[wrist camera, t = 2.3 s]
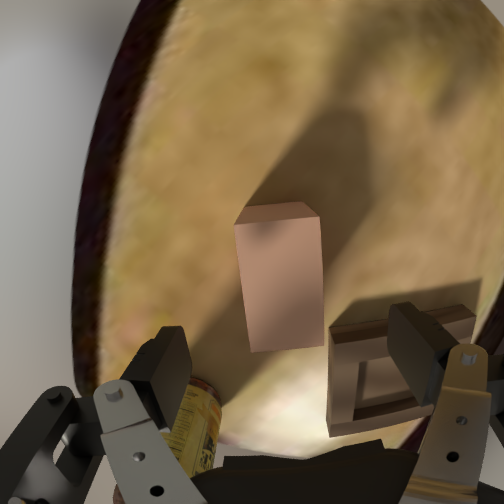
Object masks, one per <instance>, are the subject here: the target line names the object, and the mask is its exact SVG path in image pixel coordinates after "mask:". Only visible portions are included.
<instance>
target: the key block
mask: <svg viewBox="0 0 504 504" xmlns="http://www.w3.org/2000/svg"><path fill="white" fill-rule="evenodd" d="M234 231H235V239H236V247H237V255H238V262H239V270H240V277H241V285H242V292H243V299H244V307H245V314H246V321H247V328H248V335H249V342H250V349H251V353H252V352H266V351H278V350H289V349H299V348H308V347H317V346H324V295H323V267H322V247H321V230H320V217H319V216H318V215H317V214H316V213H315V212H314V211H313V210H312V209H310V208H309V207H308V206H307V205H306V204H305V203H304V202H303V201H298V202H287V203H276V204H266V205H257V206H247V207H244V208H243V210H242V212H241V213H240V215H239V217H238V218H237V220H236V222H235V224H234Z"/></svg>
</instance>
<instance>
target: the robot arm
mask: <svg viewBox="0 0 504 504" xmlns="http://www.w3.org/2000/svg"><path fill="white" fill-rule="evenodd" d="M387 349H388V352H389V355H390V356H391V358H392V360H393V361H394V363H395V365H396V366H397V368H398V369H399V371H400V373H401V374H402V376H403V378H404V379H405V381H406V383H407V385H408V386H409V388H410V390H411V391H412V393H413V395H414V397H415V398H416V400H417V402H418V404H419V405H420V407H424V406H428V405H431V404H433V406H434V409H433V412H432V415H431V418H430V421H429V424H428V427H427V430H426V433H425V436H424V438H423V441H422V444H421V446H420V449H419V451H418V453H415V452H411V451H407V450H401V449H389V448H388V449H385V448H384V446H383V443H382V440H381V439H377V440H373V441H368V442H364V443H359V444H354V445H348V446H344V447H341V448H338V449H336V450H333V451H330V452H327V453H325V454H322V455H319V456H316V457H313V458H310V459H306V460H298V459H289V458H280V457H272V456H264V455H260V456H224V462H223V467H219V468H214V469H210V470H207V471H204V472H202V473H199V474H197V475H195V476H193V477H191V478H189V477H188V475H187V474H186V473H185V471H184V470H183V468H182V467H181V465H180V464H179V462H178V461H177V459H176V458H175V456H174V454H173V453H172V451H171V450H170V448H169V447H168V445H167V443H166V442H165V440H164V438H163V437H162V435H161V433H160V432H165V433H171V431H172V428H173V425H174V422H175V419H176V416H177V414H178V411H179V408H180V405H181V402H182V399H183V396H184V393H185V391H186V388H187V385H188V382H189V379H190V376H191V373H192V362H191V357H190V353H189V349H188V345H187V341H186V337H185V333H184V330H183V328H182V326H163V327H162V328H161V329H160V331H159V332H158V334H157V335H156V337H155V339H150V340H149V341H147V342H146V343H145V344H143V345H142V346H141V347H140V349H139V350H138V352H137V355H135V356H134V358H133V359H132V361H131V362H130V364H129V365H128V367H127V368H126V370H125V371H124V373H123V374H122V376H121V377H120V379H119V380H112V381H109V382H106V383H104V384H102V385H101V386H99V387H98V388H97V389H96V391H95V392H94V396H92V397H82V398H75V396H74V394H73V392H72V390H71V389H70V388H69V387H66V386H56V387H52V388H50V389H48V390H46V391H45V392H44V393H42V395H41V396H40V397H39V398H38V399H37V401H36V402H35V403H34V405H33V406H32V407H31V409H30V410H29V411H28V412H27V414H26V415H25V416H24V418H23V419H22V420H21V422H20V423H19V424H18V426H17V427H16V428H15V430H14V431H13V433H12V434H11V435H10V437H9V438H8V440H7V441H6V442H5V444H4V445H3V446H2V448H1V449H0V504H84V501H85V499H86V496H87V494H88V491H89V489H90V487H91V484H92V481H93V479H94V477H95V474H96V472H97V470H98V467H99V465H100V463H101V460H102V458H103V456H104V455H107V458H108V461H109V464H110V467H111V469H112V472H113V475H114V477H115V480H116V482H117V485H118V487H119V490H120V492H121V494H122V497H123V499H124V501H125V504H504V491H503V490H500V489H498V488H495V487H493V486H490V485H487V484H485V483H482V482H480V481H479V477H480V473H481V468H482V463H483V458H484V453H485V447H486V441H487V435H488V427H489V424H490V426H491V427H492V429H493V431H494V432H495V434H496V435H497V437H498V439H499V441H500V442H501V444H502V446H503V447H504V354H502V355H491V356H488V355H487V353H486V351H485V350H484V349H483V348H481V347H479V346H477V345H474V344H468V343H465V344H460V343H459V342H458V341H457V340H456V339H455V338H454V337H453V336H452V335H451V334H450V333H449V332H448V331H447V330H446V329H444V327H443V326H442V325H441V324H439V322H438V321H437V320H436V319H435V318H434V317H433V316H431V315H429V314H427V313H425V312H423V311H421V312H420V311H419V310H418V309H417V308H416V307H415V306H414V305H413V304H412V303H411V302H403V303H398V304H392V305H391V306H390V310H389V321H388V333H387ZM60 439H61V440H62V442H63V443H64V445H65V448H64V449H63V451H62V453H61V455H60V457H59V458H58V460H57V462H56V464H54V462H53V452H54V450H55V448H56V446H57V444H58V443H59V441H60Z"/></svg>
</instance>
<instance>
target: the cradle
mask: <svg viewBox="0 0 504 504" xmlns="http://www.w3.org/2000/svg"><path fill="white" fill-rule="evenodd" d="M425 313H427V314H429V315H431V316H433V317H434V318H435V319H436V320H437V321H438V322H439V324H441V325H442V326H443V327H444V329H446V330H447V331H448V332H449V333H450V334H451V335H452V336H453V337H454V338H455V339H456V340H457V341H458V342H459V343H460V344H465V343H468V344H470V342H471V338H472V334H473V330H474V326H475V321H476V315H475V314H474V313H472V312H471V311H470V310H469V309H467V308H466V307H465V306H464V305H463V304H461V305H457V306H452V307H448V308H443V309H438V310H433V311H428V312H425ZM388 321H389V319H385V320H379V321H372V322H366V323H359V324H352V325H345V326H337V327H330V328H329V355H328V391H327V412H326V422H327V427H328V432H329V437H337V436H343V435H349V434H355V433H360V432H365V431H370V430H375V429H379V428H383V427H388V426H392V425H396V424H400V423H404V422H407V421H411V420H415V419H418V418H421V417H425V416H428V415H431V414H432V412H433V409H434V406H433V404H431V405H428V406H424V407H420V405H419V404H418V402H417V400H416V398H415V397H414V395H413V393H412V391H411V390H410V388H409V386H408V385H407V383H406V381H405V379H404V378H403V376H402V374H401V373H400V371H399V369H398V368H397V366H396V365H395V363H394V361H393V360H392V358H391V356H390V355H389V352H388V349H387V333H388Z"/></svg>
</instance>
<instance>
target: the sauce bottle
mask: <svg viewBox="0 0 504 504" xmlns="http://www.w3.org/2000/svg"><path fill="white" fill-rule="evenodd" d="M221 418H222V411H221V401H220V398H219V395H218V393H217V391H215V389H214V388H212V387H211V386H209V385H208V384H206V383H205V382H203V381H201V380H198V379H196V378H191V377H190V379H189V382H188V385H187V388H186V391H185V393H184V396H183V399H182V402H181V405H180V408H179V411H178V414H177V416H176V419H175V422H174V425H173V428H172V431H171V433H165V432H160V433H161V435H162V437H163V438H164V440H165V442H166V443H167V445H168V447H169V448H170V450H171V451H172V453H173V454H174V456H175V458H176V459H177V461H178V462H179V464H180V465H181V467H182V468H183V470H184V471H185V473H186V474H187V475H188V477H189V478H191V477H193V476H195V475H197V474H199V473H202V472H204V471H207V470H210V469H213V463H214V458H215V453H216V446H217V440H218V435H219V429H220V423H221ZM113 503H114V504H125V501H124V499H123V497H122V494H121V492H120V490H119V487H118V485H117V484H116V487H115V490H114V495H113Z"/></svg>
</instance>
